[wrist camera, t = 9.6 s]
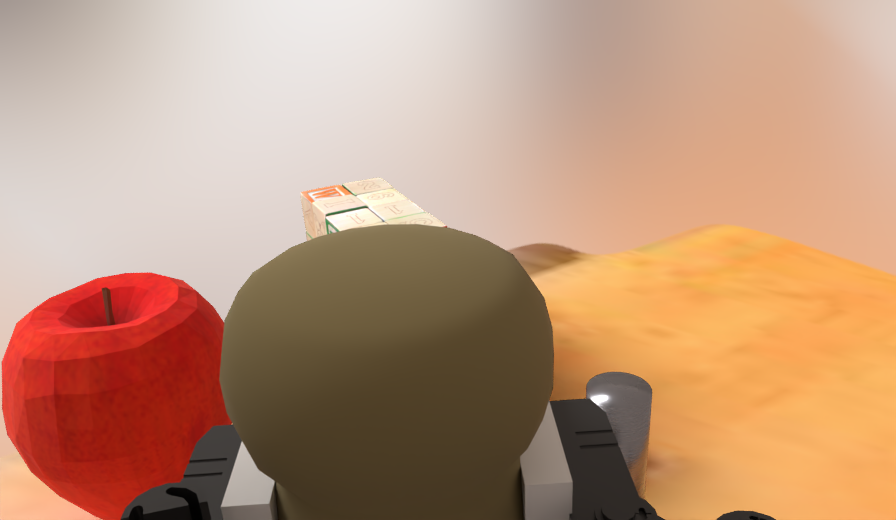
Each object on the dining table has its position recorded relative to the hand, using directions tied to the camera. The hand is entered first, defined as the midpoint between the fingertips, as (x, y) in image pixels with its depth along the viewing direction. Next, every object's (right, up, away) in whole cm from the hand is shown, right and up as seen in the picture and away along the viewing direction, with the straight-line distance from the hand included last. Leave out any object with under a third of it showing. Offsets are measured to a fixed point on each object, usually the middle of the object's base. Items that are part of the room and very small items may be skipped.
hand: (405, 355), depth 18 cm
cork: (+1, -8, -2) cm, 8 cm away
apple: (-16, -12, +26) cm, 32 cm away
